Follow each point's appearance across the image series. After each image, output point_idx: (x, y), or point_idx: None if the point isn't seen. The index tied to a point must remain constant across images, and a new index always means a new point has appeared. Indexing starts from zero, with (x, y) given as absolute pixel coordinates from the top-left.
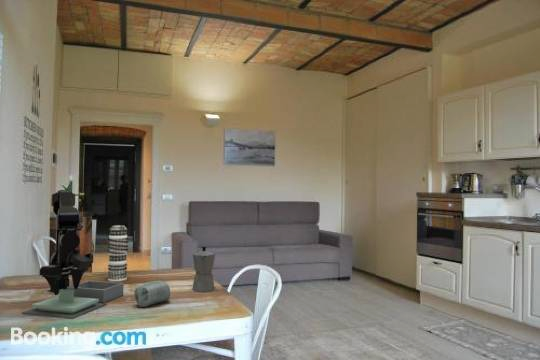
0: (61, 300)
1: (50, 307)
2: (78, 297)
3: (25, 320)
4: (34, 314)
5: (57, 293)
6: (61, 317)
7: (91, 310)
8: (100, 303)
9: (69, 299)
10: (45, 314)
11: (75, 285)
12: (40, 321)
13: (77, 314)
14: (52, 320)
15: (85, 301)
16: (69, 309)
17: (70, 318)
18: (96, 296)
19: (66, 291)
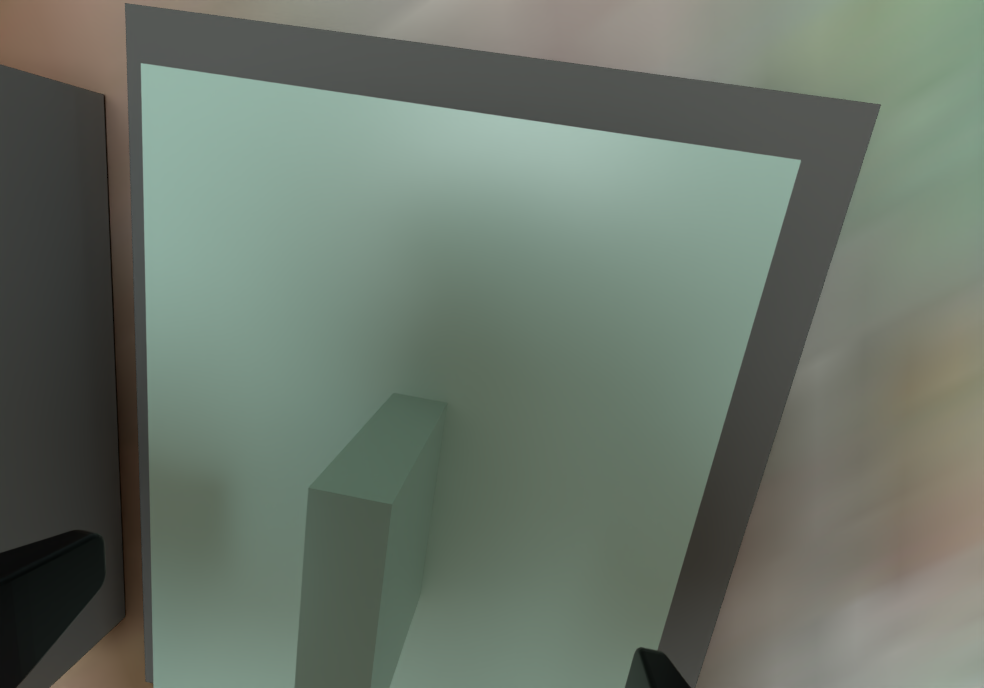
0: (422, 571)
1: (672, 569)
2: (167, 447)
3: (911, 640)
4: (700, 659)
5: (676, 674)
6: (811, 299)
7: (464, 51)
8: (135, 115)
9: (433, 452)
10: (728, 542)
11: (32, 614)
12: (965, 467)
13: (714, 126)
14: (928, 348)
15: (345, 206)
16: (768, 240)
17: (860, 145)
18: (14, 217)
19: (386, 605)
